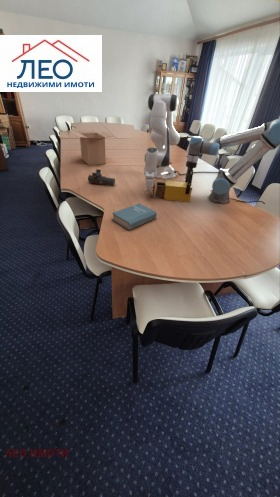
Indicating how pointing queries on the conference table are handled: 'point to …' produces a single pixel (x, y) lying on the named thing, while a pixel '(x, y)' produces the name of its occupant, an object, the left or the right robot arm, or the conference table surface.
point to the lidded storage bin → (176, 191)
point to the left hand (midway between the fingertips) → (148, 190)
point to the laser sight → (100, 179)
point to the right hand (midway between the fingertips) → (186, 191)
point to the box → (92, 146)
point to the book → (134, 216)
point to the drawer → (158, 189)
